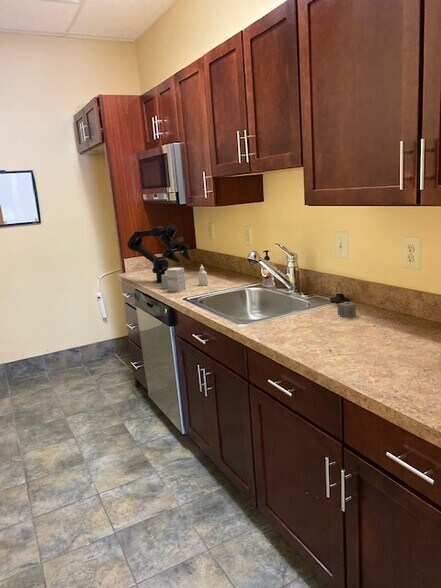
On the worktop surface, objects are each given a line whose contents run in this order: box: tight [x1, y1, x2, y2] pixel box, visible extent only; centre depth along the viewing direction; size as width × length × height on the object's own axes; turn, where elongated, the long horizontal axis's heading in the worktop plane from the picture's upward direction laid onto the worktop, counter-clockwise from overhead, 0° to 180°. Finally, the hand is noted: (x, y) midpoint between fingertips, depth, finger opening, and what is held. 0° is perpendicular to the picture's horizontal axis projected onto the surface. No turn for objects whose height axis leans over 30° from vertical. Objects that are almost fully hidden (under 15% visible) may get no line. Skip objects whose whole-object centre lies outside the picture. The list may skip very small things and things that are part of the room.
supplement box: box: [166, 267, 187, 293], centre depth 255 cm, size 7×7×13 cm
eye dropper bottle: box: [197, 264, 209, 287], centre depth 265 cm, size 4×6×12 cm
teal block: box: [161, 273, 168, 290], centre depth 264 cm, size 5×5×8 cm
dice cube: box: [337, 301, 357, 318], centre depth 185 cm, size 5×5×5 cm
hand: (184, 260), depth 270 cm, fingers open, 9 cm apart
